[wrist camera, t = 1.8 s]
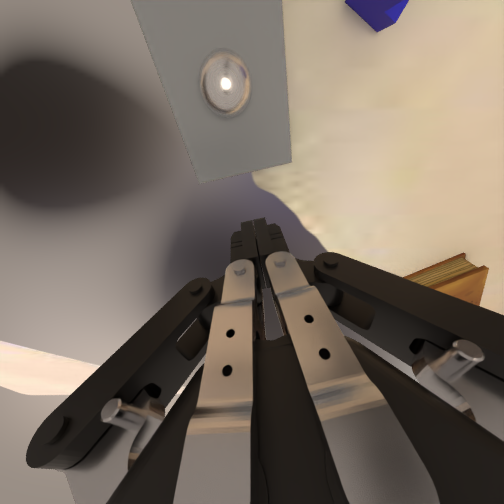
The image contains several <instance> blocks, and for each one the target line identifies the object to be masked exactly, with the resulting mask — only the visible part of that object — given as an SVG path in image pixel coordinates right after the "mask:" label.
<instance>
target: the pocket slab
mask: <svg viewBox="0 0 504 504" xmlns="http://www.w3.org/2000/svg"><path fill="white" fill-rule="evenodd" d="M131 3H132V5H133V8H134V11H135V13H136V16H137V18H138V21H139V24H140V27H141V29H142V32H143V35H144V37H145V40H146V43H147V45H148V48H149V50H150V53H151V56H152V59H153V61H154V64H155V67H156V69H157V72H158V75H159V77H160V80H161V83H162V85H163V88H164V91H165V93H166V96H167V99H168V101H169V104H170V107H171V109H172V112H173V115H174V117H175V120H176V123H177V125H178V128H179V130H180V133H181V136H182V139H183V141H184V144H185V147H186V149H187V152H188V155H189V157H190V160H191V163H192V166H193V168H194V171H195V174H196V176H197V179H198V182H199V184H202V183H205V182H210V181H214V180H219V179H223V178H227V177H231V176H236V175H240V174H244V173H249V172H253V171H257V170H261V169H266V168H270V167H274V166H278V165H283V164H287V163H291V162H292V157H291V141H290V124H289V108H288V92H287V76H286V60H285V44H284V27H283V11H282V0H131ZM218 48H228V49H231V50H233V51H235V52H236V53H237V54H239V55H240V56H241V57H242V59H243V60H244V61H245V63H246V65H247V67H248V69H249V72H250V76H251V83H252V89H251V96H250V99H249V102H248V104H247V106H246V107H245V109H244V110H243V111H242V112H241V113H240V114H238V115H237V116H234V117H230V118H226V117H221V116H219V115H217V114H215V113H214V112H213V111H212V110H211V109H210V108H209V107H208V106H207V104H206V103H205V101H204V99H203V97H202V94H201V90H200V85H199V74H200V69H201V65H202V63H203V61H204V59H205V58H206V56H207V55H208V54H209V53H210V52H212V51H213V50H215V49H218Z"/></svg>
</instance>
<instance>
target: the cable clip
mask: <svg viewBox="0 0 504 504" xmlns="http://www.w3.org/2000/svg"><path fill="white" fill-rule="evenodd" d="M408 1H409V0H346V1H345V3H346V4H348V5H349V6H350V7H351V8H352V9H353V10H354V11H355V12H356V13H357V14H358V15H359V16H360V17H361V18H362V19H363V20H365V21H366V22H367V23H368V24H369V25H370V26H371V27H372V28H373V29H374V30H375V31H376V32H379V31H381V30H383V29H385V28H387V27H389V26H391V25H392V24H394V23H396V21H397V20H398V18H399V16H400V14H401V13H402V11H403V9H404V8H405V6H406V4H407V3H408Z"/></svg>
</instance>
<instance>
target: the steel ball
mask: <svg viewBox="0 0 504 504" xmlns="http://www.w3.org/2000/svg"><path fill="white" fill-rule="evenodd" d="M199 85H200V90H201V94H202V97H203V99H204V101H205V103H206V104H207V106H208V107H209V108H210V109H211V110H212V111H213V112H214V113H215V114H217V115H219V116H221V117H226V118H230V117H234V116H237V115H238V114H240V113H241V112H242V111H243V110H244V109H245V107H246V106H247V104H248V102H249V99H250V96H251V89H252V83H251V76H250V72H249V69H248V67H247V65H246V63H245V61H244V60H243V59H242V57H241V56H240V55H239V54H237V53H236V52H235V51H233V50H231V49H228V48H218V49H215V50H213V51H212V52H210V53H209V54H208V55H207V56H206V58H205V59H204V61H203V63H202V65H201V69H200V74H199Z"/></svg>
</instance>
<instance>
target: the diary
mask: <svg viewBox="0 0 504 504" xmlns="http://www.w3.org/2000/svg"><path fill="white" fill-rule="evenodd" d="M465 255H466V254H465V253H461V254H459V255H457V256H454V257H452V258H449V259H447V260H444V261H442V262H439V263H437V264H435V265H432V266H430V267H427V268H425V269H422V270H420V271H417V272H415V273H413V274H410V275H408V276H405V277H403V278H405V279H408V280H410V281H413V282H416V283H418V284H421V285H424V286H426V287H429V288H432V289H434V290H437V291H440V292H443V293H445V294H448V295H451V296H453V297H456V298H459V299H461V300H464V301H467V302H469V303H472V304H475V305H477V306H479V305H480V301H481V297H482V293H483V289H484V285H485V282H486V278H487V274H488V270H489V268H487V267H486V266H481V267H479V268H478V267H476V266H475V265H473V264H472V263H470V262H469V261H467V260H465Z"/></svg>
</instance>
